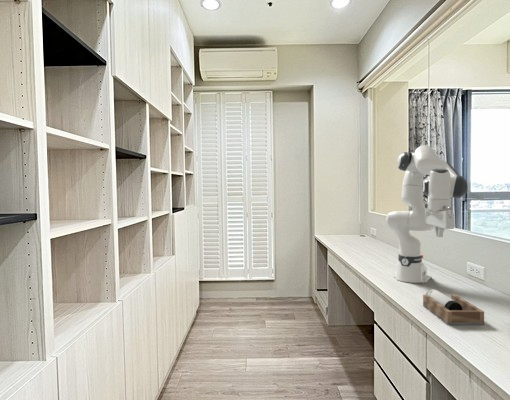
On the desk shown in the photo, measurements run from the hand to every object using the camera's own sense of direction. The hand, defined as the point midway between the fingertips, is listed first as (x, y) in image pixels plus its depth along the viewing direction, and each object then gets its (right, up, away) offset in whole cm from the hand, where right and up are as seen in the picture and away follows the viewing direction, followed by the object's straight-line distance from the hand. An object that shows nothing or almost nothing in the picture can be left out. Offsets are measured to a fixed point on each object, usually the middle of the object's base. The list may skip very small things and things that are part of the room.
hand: (439, 236), depth 165 cm
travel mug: (-2, -27, +3) cm, 27 cm away
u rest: (0, -32, -10) cm, 33 cm away
